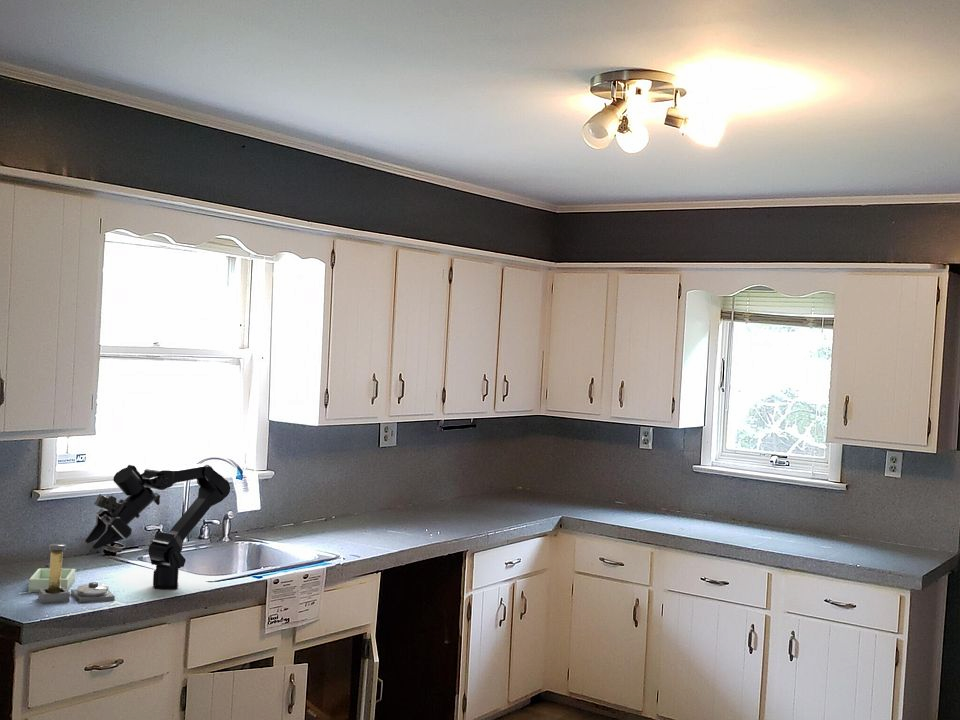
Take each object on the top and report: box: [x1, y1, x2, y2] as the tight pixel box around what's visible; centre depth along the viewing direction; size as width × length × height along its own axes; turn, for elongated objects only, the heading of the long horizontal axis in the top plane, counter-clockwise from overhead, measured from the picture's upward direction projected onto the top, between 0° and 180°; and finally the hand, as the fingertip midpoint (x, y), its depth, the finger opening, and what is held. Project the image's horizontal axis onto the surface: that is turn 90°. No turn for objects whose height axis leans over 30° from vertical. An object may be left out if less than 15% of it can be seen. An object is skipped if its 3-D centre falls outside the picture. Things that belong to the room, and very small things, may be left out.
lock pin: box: [48, 543, 66, 593], centre depth 266 cm, size 4×4×15 cm
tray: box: [27, 568, 76, 593], centre depth 281 cm, size 10×14×4 cm
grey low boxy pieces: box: [37, 581, 116, 605], centre depth 269 cm, size 18×11×4 cm, turn 124°
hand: (89, 545), depth 272 cm, fingers open, 9 cm apart
